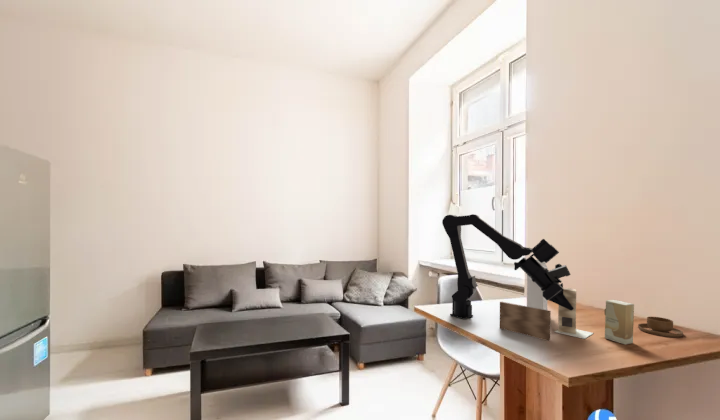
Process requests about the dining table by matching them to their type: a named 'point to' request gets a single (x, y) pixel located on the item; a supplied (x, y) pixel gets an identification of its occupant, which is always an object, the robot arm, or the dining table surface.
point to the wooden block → (568, 313)
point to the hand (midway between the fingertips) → (572, 307)
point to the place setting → (659, 327)
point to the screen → (525, 320)
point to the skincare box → (619, 321)
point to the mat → (577, 333)
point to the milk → (535, 293)
